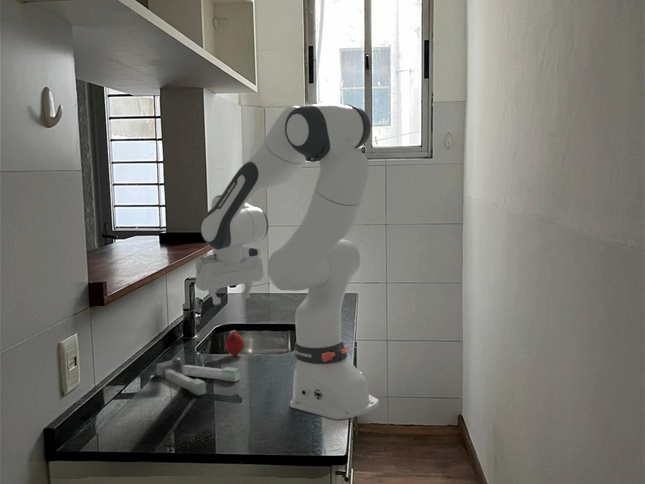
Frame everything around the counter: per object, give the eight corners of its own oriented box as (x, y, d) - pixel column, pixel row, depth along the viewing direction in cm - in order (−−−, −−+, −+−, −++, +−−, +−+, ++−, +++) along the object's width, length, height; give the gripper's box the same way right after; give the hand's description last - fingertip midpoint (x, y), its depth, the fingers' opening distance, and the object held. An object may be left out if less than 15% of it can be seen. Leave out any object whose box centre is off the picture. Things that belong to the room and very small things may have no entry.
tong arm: (171, 373, 183) (170, 359, 183) (176, 371, 185) (175, 357, 185) (235, 381, 174) (234, 366, 174) (239, 378, 176) (238, 364, 176)
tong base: (218, 389, 169) (218, 377, 169) (197, 395, 165) (196, 383, 165) (176, 369, 187) (175, 359, 187) (156, 374, 183) (156, 364, 183)
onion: (241, 358, 195) (239, 333, 194) (223, 358, 196) (221, 332, 195) (247, 353, 200) (245, 328, 199) (229, 352, 202) (228, 327, 201)
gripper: (201, 258, 170) (204, 309, 172) (265, 248, 183) (267, 296, 185) (189, 255, 175) (192, 305, 177) (252, 246, 188) (255, 293, 190)
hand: (231, 301), depth 181 cm, fingers open, 8 cm apart
